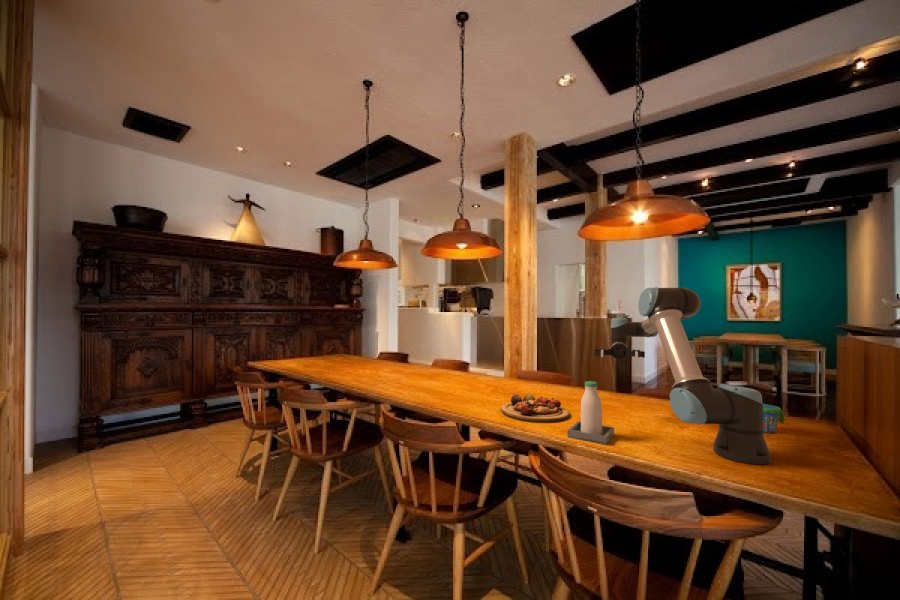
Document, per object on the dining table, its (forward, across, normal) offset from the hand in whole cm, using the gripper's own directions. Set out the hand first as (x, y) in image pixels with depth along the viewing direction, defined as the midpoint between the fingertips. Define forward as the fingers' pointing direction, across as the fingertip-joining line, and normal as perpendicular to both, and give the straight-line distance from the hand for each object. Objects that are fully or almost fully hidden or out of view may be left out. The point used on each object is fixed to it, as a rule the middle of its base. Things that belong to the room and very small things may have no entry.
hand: (619, 355), depth 153 cm
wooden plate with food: (-4, +37, -31) cm, 48 cm away
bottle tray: (+19, +10, -30) cm, 37 cm away
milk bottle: (+19, +10, -29) cm, 37 cm away
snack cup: (-20, -54, -30) cm, 65 cm away
